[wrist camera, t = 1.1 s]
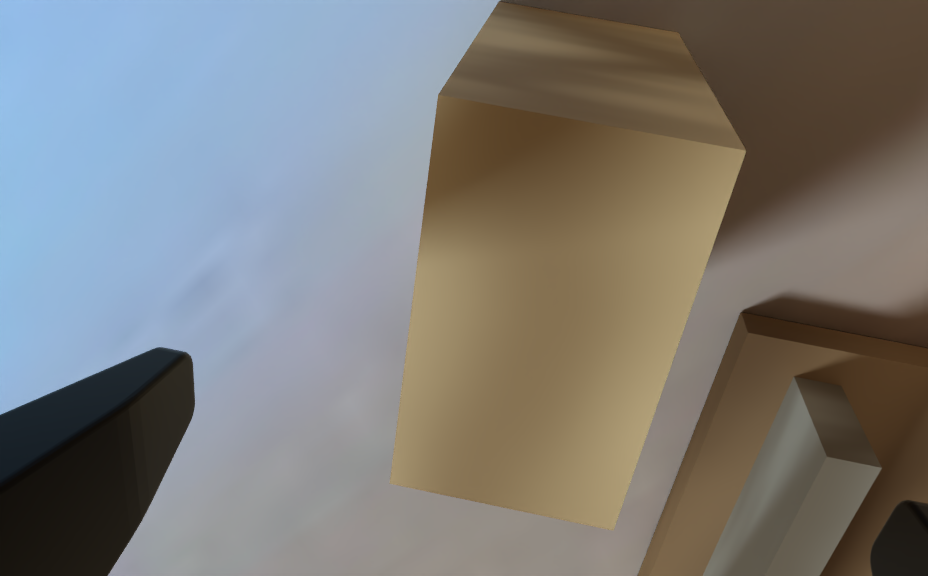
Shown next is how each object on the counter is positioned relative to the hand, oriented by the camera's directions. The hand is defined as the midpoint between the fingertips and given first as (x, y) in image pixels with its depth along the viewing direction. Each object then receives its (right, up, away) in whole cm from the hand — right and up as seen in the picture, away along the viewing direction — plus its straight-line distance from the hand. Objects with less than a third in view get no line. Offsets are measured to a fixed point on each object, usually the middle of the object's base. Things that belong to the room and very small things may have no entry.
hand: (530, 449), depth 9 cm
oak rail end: (+1, +5, +9) cm, 10 cm away
